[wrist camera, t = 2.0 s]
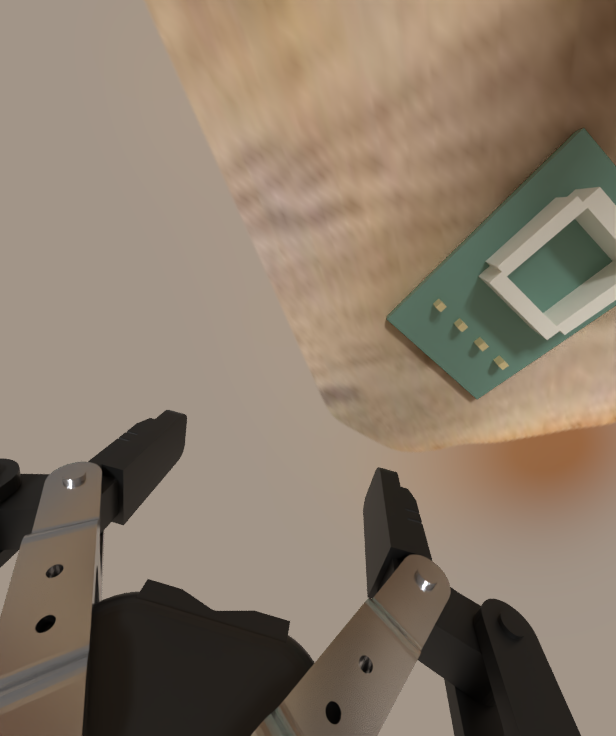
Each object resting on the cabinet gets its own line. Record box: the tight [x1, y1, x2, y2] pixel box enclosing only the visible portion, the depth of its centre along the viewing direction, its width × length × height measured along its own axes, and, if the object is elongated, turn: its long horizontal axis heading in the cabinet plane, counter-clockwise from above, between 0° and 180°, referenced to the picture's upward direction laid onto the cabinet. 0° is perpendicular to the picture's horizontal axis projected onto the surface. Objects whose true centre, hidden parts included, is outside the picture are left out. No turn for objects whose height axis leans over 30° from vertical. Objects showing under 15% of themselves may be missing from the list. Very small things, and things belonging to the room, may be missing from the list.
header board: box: [387, 128, 616, 399], centre depth 27 cm, size 20×14×4 cm
